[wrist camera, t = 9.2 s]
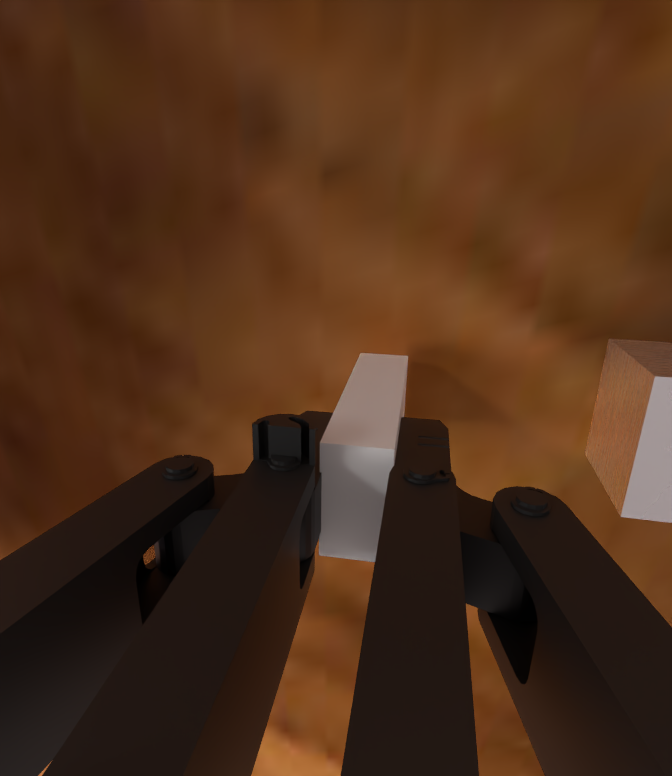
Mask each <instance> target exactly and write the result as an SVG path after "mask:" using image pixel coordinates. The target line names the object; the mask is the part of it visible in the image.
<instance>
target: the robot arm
mask: <svg viewBox="0 0 672 776" xmlns="http://www.w3.org/2000/svg"><path fill="white" fill-rule="evenodd" d="M407 368H408V356H402V355H387V354H371V353H360V355H359V357H358V360H357V362H356V364H355V366H354V368H353V371H352V373H351V375H350V377H349V379H348V382H347V384H346V386H345V388H344V391H343V393H342V395H341V397H340V399H339V402H338V404H337V406H336V408H335V410H334V413H329V412H317V411H306V412H304V413H302V414H300V415H293V414H277V415H270V416H266V417H263V418H260V419H258V420H257V421H255V422H254V423H253V424H252V431H253V457H254V460H253V461H252V463H251V464H250V466H249V467H248V469H247V470H246V472H245V473H243V474H235V475H223V476H214V468H213V464H212V463H211V462H210V461H209V460H207V459H205V458H202V457H198V456H191V455H184V456H182V455H177V456H174V457H172V458H167V459H164V460H162V461H160V462H157V463H155V464H153V465H152V466H150V467H149V468H147V469H145V470H144V471H142V472H141V473H139V474H137V475H136V476H134V477H133V478H131V479H129V480H128V481H126V482H125V483H123V484H121V485H120V486H118V487H117V488H115V489H114V490H112V491H110V492H109V493H107V494H106V495H104V496H102V497H101V498H99V499H98V500H96V501H94V502H93V503H91V504H90V505H88V506H86V507H85V508H83V509H82V510H80V511H78V512H77V513H75V514H74V515H72V516H70V517H69V518H67V519H66V520H64V521H62V522H61V523H59V524H58V525H56V526H55V527H53V528H51V529H50V530H48V531H47V532H45V533H43V534H42V535H40V536H39V537H37V538H35V539H34V540H32V541H31V542H29V543H27V544H26V545H24V546H23V547H21V548H19V549H18V550H16V551H15V552H13V553H11V554H10V555H8V556H7V557H5V558H3V559H2V560H0V776H38V775H39V774H40V773H41V772H42V771H43V770H44V768H45V767H46V766H47V765H48V764H49V763H50V762H51V761H52V762H51V763H50V765H49V766H48V768H47V769H46V771H45V772H44V774H43V775H42V776H251V774H252V771H253V767H254V764H255V761H256V758H257V754H258V751H259V748H260V745H261V741H262V738H263V735H264V732H265V728H266V725H267V722H268V719H269V716H270V712H271V709H272V706H273V703H274V699H275V696H276V693H277V690H278V686H279V683H280V680H281V677H282V674H283V670H284V667H285V664H286V661H287V657H288V654H289V651H290V648H291V644H292V641H293V638H294V635H295V632H296V628H297V625H298V622H299V619H300V615H301V612H302V609H303V606H304V602H305V599H306V596H307V593H308V589H309V586H310V583H311V580H312V577H313V573H314V564H315V548H316V545H317V542H318V539H319V555H321V556H329V557H337V558H345V559H353V560H361V561H369V562H375V565H374V571H373V578H372V584H371V590H370V596H369V603H368V609H367V615H366V621H365V628H364V634H363V640H362V646H361V653H360V659H359V665H358V671H357V678H356V684H355V690H354V696H353V703H352V709H351V715H350V721H349V728H348V734H347V740H346V746H345V753H344V759H343V765H342V771H341V776H479V771H478V758H477V745H476V732H475V719H474V707H473V694H472V681H471V668H470V655H469V642H468V630H467V617H466V604H465V603H467V604H469V605H472V606H474V607H477V608H478V617H479V621H480V624H481V626H482V628H483V631H484V633H485V636H486V638H487V640H488V643H489V645H490V647H491V650H492V652H493V654H494V657H495V659H496V661H497V664H498V666H499V668H500V671H501V673H502V676H503V678H504V680H505V683H506V685H507V687H508V690H509V692H510V694H511V697H512V699H513V701H514V704H515V706H516V708H517V711H518V713H519V716H520V718H521V720H522V723H523V725H524V727H525V730H526V732H527V734H528V737H529V739H530V741H531V744H532V746H533V748H534V751H535V753H536V756H537V758H538V760H539V763H540V765H541V767H542V770H543V772H544V774H545V776H672V627H671V626H670V625H669V624H668V623H667V621H666V620H665V619H664V618H663V617H662V616H661V615H660V613H659V612H658V611H657V610H656V609H655V608H654V606H653V605H652V604H651V603H650V602H649V601H648V599H647V598H646V597H645V596H644V595H643V594H642V592H641V591H640V590H639V589H638V588H637V587H636V585H635V584H634V583H633V582H632V581H631V580H630V579H629V577H628V576H627V575H626V574H625V573H624V572H623V570H622V569H621V568H620V567H619V566H618V565H617V563H616V562H615V561H614V560H613V559H612V558H611V556H610V555H609V554H608V553H607V552H606V551H605V549H604V548H603V547H602V546H601V545H600V544H599V543H598V541H597V540H596V539H595V538H594V537H593V536H592V534H591V533H590V532H589V531H588V530H587V529H586V527H585V526H584V525H583V524H582V523H581V522H580V520H579V519H578V518H577V517H576V516H575V515H574V513H573V512H572V511H571V510H570V509H569V508H568V507H567V505H566V504H565V503H563V502H562V501H561V500H560V499H558V498H557V497H556V496H553V495H551V494H549V493H547V492H545V491H543V490H540V489H535V488H533V487H518V486H516V487H509V488H504V489H502V490H500V491H498V492H497V493H496V494H495V496H494V498H493V502H491V501H487V500H484V499H480V498H478V497H475V496H472V495H470V494H468V493H466V492H464V491H463V490H461V489H460V488H459V487H457V486H456V479H455V477H454V474H453V473H452V472H451V463H450V448H449V434H448V428H447V427H446V426H445V425H444V424H443V423H442V422H441V421H440V420H430V419H418V418H406V417H404V412H405V397H406V383H407ZM152 545H154V549H155V557H156V558H154V559H153V560H152V561H151V562H150V563H148V564H146V565H145V564H144V561H143V554H144V553H145V552H146V551H147V550H148V549H149V548H150V547H151V546H152Z"/></svg>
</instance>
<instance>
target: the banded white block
mask: <svg viewBox="0 0 672 776" xmlns="http://www.w3.org/2000/svg"><path fill="white" fill-rule="evenodd" d="M585 455H586V457H587V459H588V460H589V462H590V464H591V466H592V467H593V469H594V471H595V473H596V474H597V476H598V478H599V480H600V482H601V483H602V485H603V487H604V489H605V490H606V492H607V494H608V496H609V497H610V499H611V501H612V503H613V504H614V506H615V508H616V510H617V511H618V513H619V515H620V517H626V518H635V519H643V520H652V521H660V522H669V523H672V342H658V341H643V340H628V339H613V338H609V340H608V344H607V349H606V354H605V359H604V364H603V368H602V373H601V378H600V383H599V388H598V393H597V397H596V402H595V407H594V412H593V417H592V421H591V426H590V431H589V436H588V441H587V445H586V450H585Z"/></svg>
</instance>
